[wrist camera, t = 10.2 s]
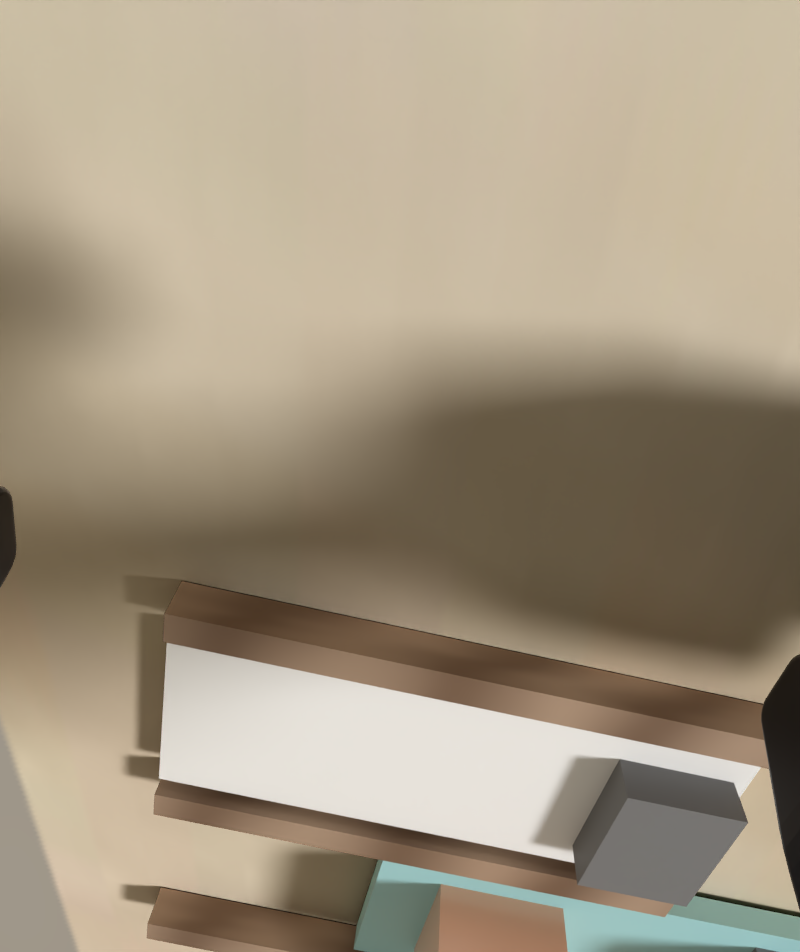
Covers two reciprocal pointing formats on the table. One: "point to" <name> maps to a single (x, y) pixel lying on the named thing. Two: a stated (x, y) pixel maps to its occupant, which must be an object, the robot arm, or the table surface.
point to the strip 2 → (573, 918)
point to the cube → (490, 924)
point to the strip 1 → (453, 772)
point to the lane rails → (429, 675)
